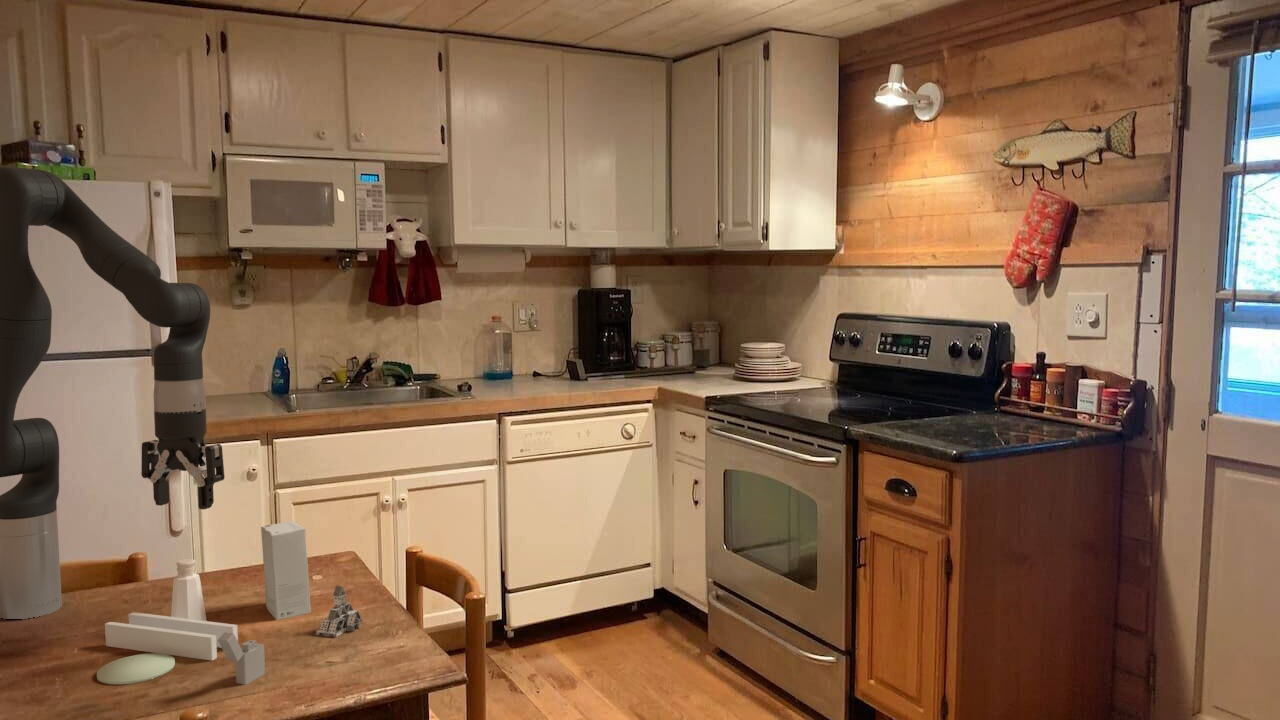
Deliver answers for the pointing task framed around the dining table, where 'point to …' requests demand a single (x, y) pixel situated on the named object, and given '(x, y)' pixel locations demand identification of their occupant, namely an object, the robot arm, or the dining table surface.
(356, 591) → the dining table surface
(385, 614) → the dining table surface
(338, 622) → the house of cards
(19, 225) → the robot arm
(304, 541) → the skincare box
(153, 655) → the pad
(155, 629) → the low walls
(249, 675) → the lighter
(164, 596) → the dining table surface
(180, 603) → the pepper shaker
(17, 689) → the dining table surface
